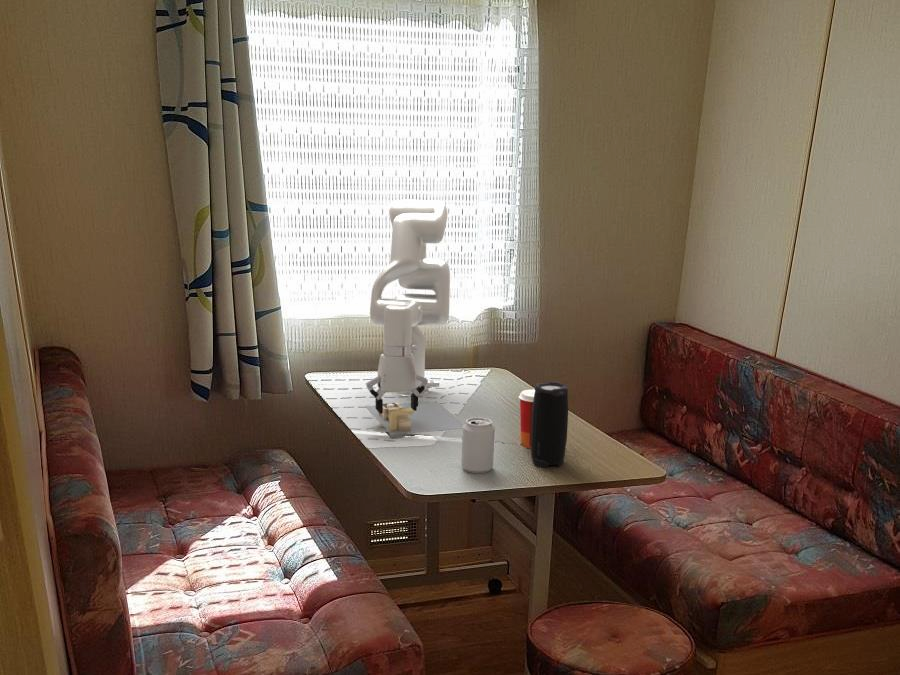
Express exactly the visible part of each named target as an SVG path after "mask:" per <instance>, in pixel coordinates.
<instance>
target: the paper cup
mask: <svg viewBox="0 0 900 675" xmlns="http://www.w3.org/2000/svg"><path fill="white" fill-rule="evenodd" d="M534 394H535V389H525V390H521V392H520V393H519V396H518V398H519V399H520V403H519V404H520V409H519V410H520V411H519V412H520V419H519V420H520V445H521V446H522V447H523V448H525V447H526V449H531V421H532V406H533V400H534Z"/></svg>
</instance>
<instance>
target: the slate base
mask: <svg viewBox="0 0 900 675" xmlns="http://www.w3.org/2000/svg"><path fill="white" fill-rule="evenodd" d="M399 404H400V405H401V406H402V407H403V409H391V410H389V414H390V420H389V419H383V418H382V417H381V416H380V415H379V412H378V411H377V410H376V404H374V405H365V408H366V409H367V410H368V412H369V413H370V414H371V415H373V417H374V418H375V419H376V420H377V421H378V422H379V423H380V425H382V427H383V428H384V429H385V430H386V431H385V433H386V435H387V436H388V437H389V439H397V437H400V438H406V437H405V436H411V437H416V436H415V435H420V434H419V433H426V432H439V431H447V430H459V429H463V426H464V425H465V424H466V423H464V422H463V421H462V420H461V419H459V418H458V417H457V416H456V415H454V414H453V413H452V412H451V411H450V410H448V409H447V408H445V406H443V405H442V404H441V403H440V402H438V400H428V401H427V400H426V401H418V407H417V410H416V411H414V410H413V409H412V408H411V402H404V403H402V402H401V403H399ZM393 407H394V404H387V408H393ZM397 415H407V416H408V417H409V418H410V419H411V430H410V431H399V430H398V429H397ZM417 433H418V434H417Z"/></svg>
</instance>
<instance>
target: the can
mask: <svg viewBox="0 0 900 675" xmlns="http://www.w3.org/2000/svg"><path fill="white" fill-rule="evenodd" d="M464 424H465V425H464V426H463V428H462V444H461V445H462V447H461V448H462V449H461V466H462V468H463V469H464V470H465V471H467V472H468V473H471V474H486V473H488V472H490V470H492V469H493V468H494V453H495V450H494V449H495V431H496V430H495V429H496V428H495V426H494V425H493V421H492V420H491V419H489V418H485V417H469V418H467V419H466V420H465V423H464Z"/></svg>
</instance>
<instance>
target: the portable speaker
mask: <svg viewBox="0 0 900 675" xmlns="http://www.w3.org/2000/svg"><path fill="white" fill-rule="evenodd" d="M533 390H535V394H534V400H533V406H532V421H531V448H530V455H531V456H530V458H531V460H532V463H533V465H534V466H536V467H539V468H544V469H546V468H547V467H548V466H551V465H557V466H558V467H562V466H563V465H564V464H565V463H564V459H565V454H566V446H567V440H568V439H567V438H568V426H569V425H568V424H569V395H568V394H569V389H568V387H567V386H566V385H565V384H564V383H563V382H561V381H552V380H551V381H548V382H542V383H539V382H536V383H535V385H534V388H533Z"/></svg>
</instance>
